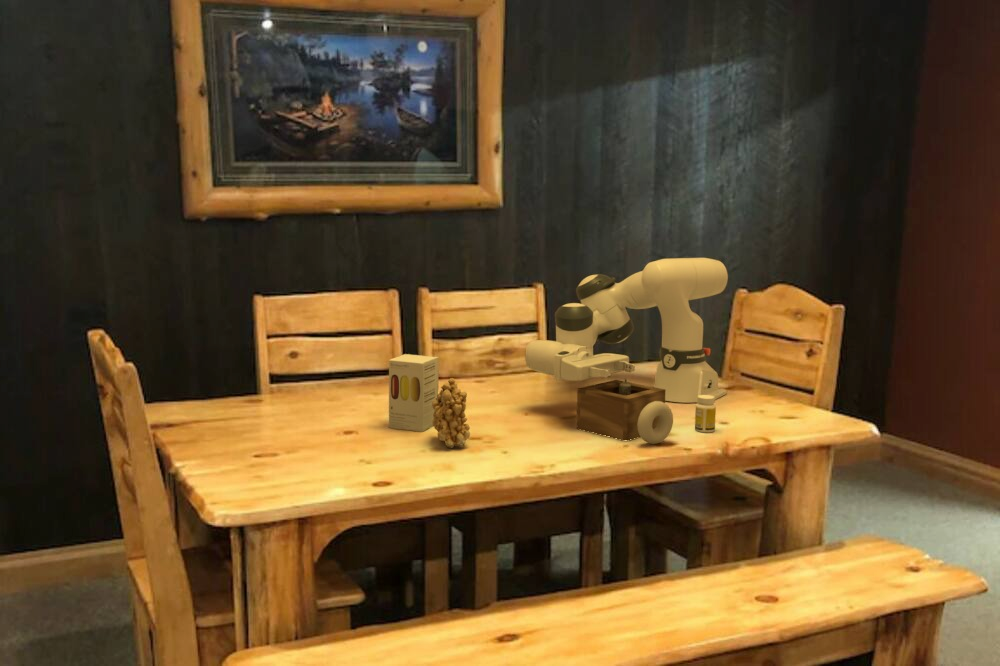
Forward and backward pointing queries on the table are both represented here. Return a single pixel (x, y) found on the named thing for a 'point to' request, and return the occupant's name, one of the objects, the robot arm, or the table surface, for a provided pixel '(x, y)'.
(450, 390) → the mineral formation
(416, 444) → the table surface
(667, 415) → the donut
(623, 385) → the salt shaker
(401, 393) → the supplement box
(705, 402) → the supplement bottle
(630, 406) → the box
